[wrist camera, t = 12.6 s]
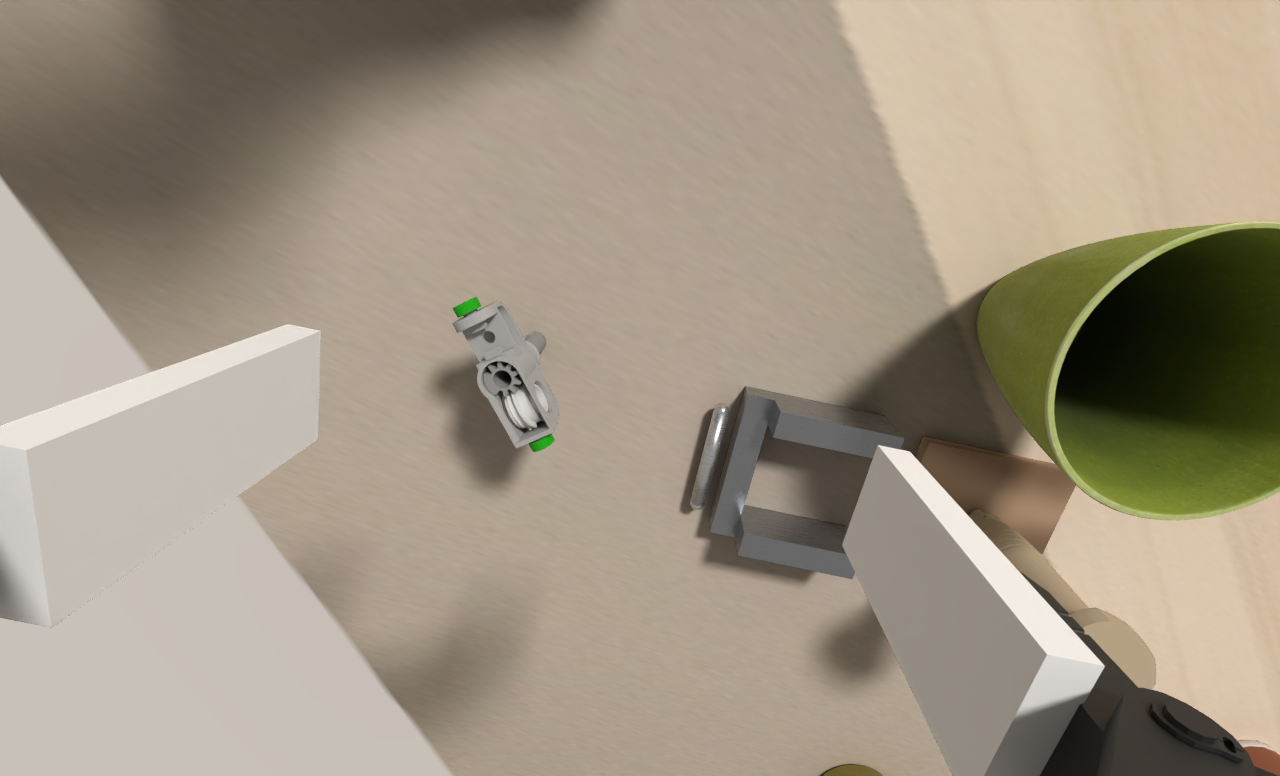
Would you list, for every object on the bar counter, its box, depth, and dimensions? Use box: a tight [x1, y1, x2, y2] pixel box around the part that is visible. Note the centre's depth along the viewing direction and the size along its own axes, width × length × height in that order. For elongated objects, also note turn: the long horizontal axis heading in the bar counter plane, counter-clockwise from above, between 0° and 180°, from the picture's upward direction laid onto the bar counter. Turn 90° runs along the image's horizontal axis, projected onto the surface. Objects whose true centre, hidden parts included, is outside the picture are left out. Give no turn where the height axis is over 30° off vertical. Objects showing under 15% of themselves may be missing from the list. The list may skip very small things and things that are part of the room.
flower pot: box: [976, 221, 1280, 520], centre depth 36 cm, size 15×15×16 cm
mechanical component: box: [452, 297, 560, 452], centre depth 41 cm, size 3×10×10 cm, turn 25°
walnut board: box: [915, 436, 1076, 555], centre depth 48 cm, size 12×12×1 cm
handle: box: [968, 509, 1156, 689], centre depth 41 cm, size 5×6×15 cm
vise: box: [690, 386, 905, 579], centre depth 46 cm, size 12×13×4 cm
